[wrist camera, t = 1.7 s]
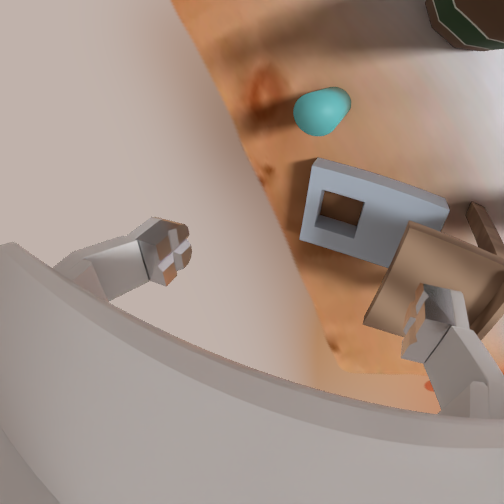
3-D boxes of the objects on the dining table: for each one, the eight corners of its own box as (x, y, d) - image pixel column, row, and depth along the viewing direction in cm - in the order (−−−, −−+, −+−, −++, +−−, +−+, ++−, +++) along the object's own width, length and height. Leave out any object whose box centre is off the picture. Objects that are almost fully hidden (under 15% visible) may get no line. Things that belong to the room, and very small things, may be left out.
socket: (317, 157, 31) (311, 165, 28) (445, 198, 26) (449, 210, 24) (305, 227, 37) (299, 239, 35) (416, 263, 32) (417, 277, 30)
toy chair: (402, 173, 27) (410, 240, 17) (487, 208, 24) (524, 286, 14) (374, 255, 35) (359, 338, 25) (448, 281, 31) (455, 365, 22)
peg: (321, 84, 25) (295, 89, 18) (353, 90, 24) (341, 97, 17) (317, 113, 27) (291, 131, 20) (348, 120, 26) (334, 140, 19)
